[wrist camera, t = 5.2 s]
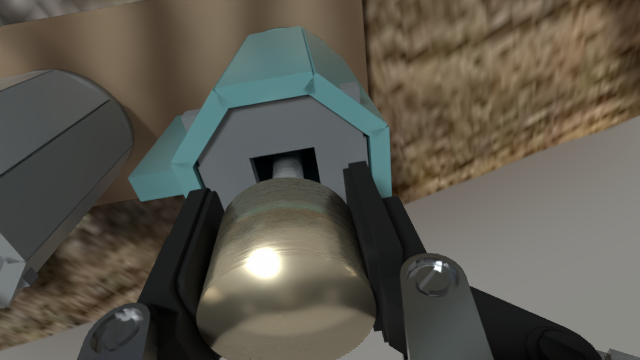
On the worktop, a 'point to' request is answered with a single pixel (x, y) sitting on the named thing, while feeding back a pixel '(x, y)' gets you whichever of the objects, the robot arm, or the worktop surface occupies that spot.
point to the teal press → (271, 123)
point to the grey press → (52, 165)
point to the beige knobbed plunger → (286, 273)
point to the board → (169, 54)
